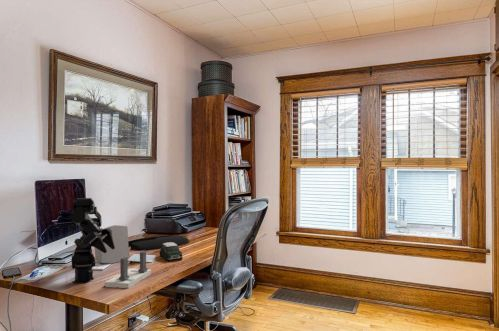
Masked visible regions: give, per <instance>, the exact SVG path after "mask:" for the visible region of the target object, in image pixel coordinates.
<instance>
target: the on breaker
mask: <svg viewBox="0 0 499 331" xmlns="http://www.w3.org/2000/svg"><path fill="white" fill-rule="evenodd" d="M138 269H139V270H138V272H145V271H147V270H148V269H149V268H148V267H147V250H143V251H139V268H138Z"/></svg>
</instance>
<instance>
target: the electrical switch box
mask: <svg viewBox="0 0 499 331" xmlns="http://www.w3.org/2000/svg"><path fill="white" fill-rule="evenodd" d="M106 228H110V230H111V231H112V238H113V242H114V246H115V249H111V248H110V247H109V246H108V245H107V244H105V243H104V242H103V243H104V245H105V247H106V250H107V252H106V253H103V252H102V251H100V250H99V249H97V248H95V247H94V257H95V262H96V261H97V263H102V264H115V263H119V262H120V260H121V258H124V257H128V259H129V258H130V247H129V245H128V241H129V234H128V233H129V232H128V229H129V228H128V226H127V225H117V224H115V225H110V226H107V227H104V228H103V227H102V229H106Z"/></svg>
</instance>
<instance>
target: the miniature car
mask: <svg viewBox="0 0 499 331" xmlns="http://www.w3.org/2000/svg"><path fill="white" fill-rule="evenodd" d="M180 249H181V248H179V246H177V244H175V243H172V242H169V243H163V244H162V247H161V249H159V250H160V251H159V257H160V256H161V257H163V258H164V259H165V262H167V261H168V262H169V261H170V260H171V261H172V260H174V259H175V260H176V259H179V260H180V261H181V260H183V258H184V257H183V253H182V251H181V250H180ZM168 262H167V263H168Z"/></svg>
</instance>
